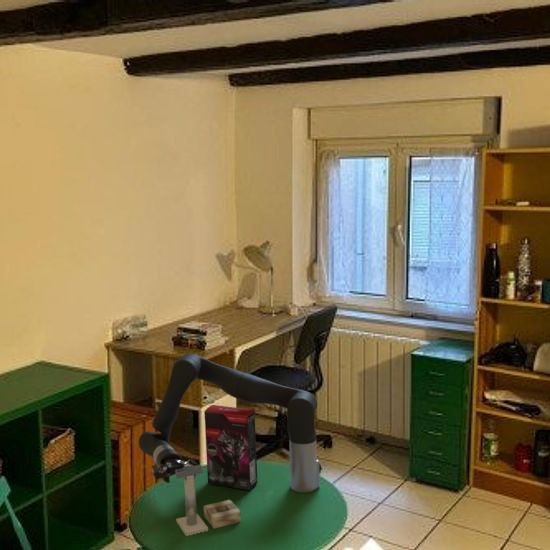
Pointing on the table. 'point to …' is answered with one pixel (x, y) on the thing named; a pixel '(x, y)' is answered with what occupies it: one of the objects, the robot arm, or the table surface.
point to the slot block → (222, 513)
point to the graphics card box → (231, 446)
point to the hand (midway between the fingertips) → (181, 477)
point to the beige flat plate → (192, 529)
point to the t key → (190, 491)
